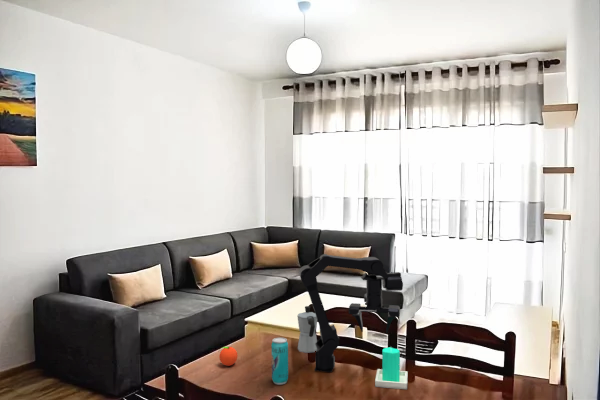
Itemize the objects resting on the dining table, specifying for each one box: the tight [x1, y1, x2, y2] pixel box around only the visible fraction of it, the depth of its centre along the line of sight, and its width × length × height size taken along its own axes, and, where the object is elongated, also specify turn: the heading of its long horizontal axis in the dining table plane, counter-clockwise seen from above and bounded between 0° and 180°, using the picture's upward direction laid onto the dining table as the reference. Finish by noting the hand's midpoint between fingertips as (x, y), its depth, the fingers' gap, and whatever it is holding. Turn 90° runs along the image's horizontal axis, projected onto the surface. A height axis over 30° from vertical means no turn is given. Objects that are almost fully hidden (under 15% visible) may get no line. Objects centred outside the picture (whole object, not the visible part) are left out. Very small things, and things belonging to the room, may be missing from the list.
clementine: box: [218, 346, 239, 367], centre depth 186 cm, size 8×7×7 cm
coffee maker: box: [297, 305, 318, 354], centre depth 201 cm, size 15×9×18 cm, turn 14°
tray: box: [374, 368, 409, 390], centre depth 169 cm, size 11×11×2 cm
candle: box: [381, 346, 401, 382], centre depth 169 cm, size 6×6×12 cm
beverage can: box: [270, 337, 289, 386], centre depth 170 cm, size 6×6×15 cm
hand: (374, 332), depth 183 cm, fingers open, 9 cm apart
